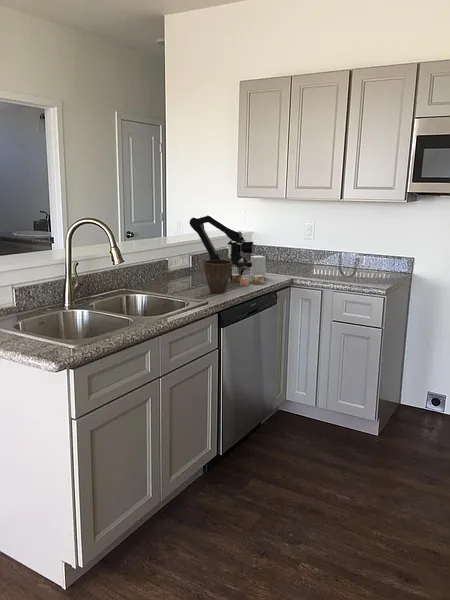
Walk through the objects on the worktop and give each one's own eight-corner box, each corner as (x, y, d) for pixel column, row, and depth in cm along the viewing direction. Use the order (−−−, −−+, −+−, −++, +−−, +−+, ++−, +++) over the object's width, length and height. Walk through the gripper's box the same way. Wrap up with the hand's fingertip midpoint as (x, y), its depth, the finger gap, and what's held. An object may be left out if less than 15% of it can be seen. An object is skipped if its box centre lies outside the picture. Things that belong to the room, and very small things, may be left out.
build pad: (253, 285, 284) (253, 284, 284) (247, 282, 292) (247, 281, 292) (268, 284, 287) (268, 283, 287) (261, 281, 296) (261, 280, 296)
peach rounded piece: (242, 286, 280) (242, 279, 279) (238, 285, 284) (238, 278, 283) (250, 286, 281) (250, 279, 280) (246, 284, 286) (246, 277, 285)
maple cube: (255, 283, 287) (255, 276, 286) (251, 282, 291) (251, 275, 290) (263, 283, 288) (263, 276, 288) (259, 281, 293) (259, 274, 292)
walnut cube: (233, 282, 291) (233, 275, 290) (229, 280, 296) (229, 274, 295) (241, 281, 293) (241, 274, 292) (237, 280, 298) (237, 273, 297)
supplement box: (265, 277, 306) (266, 257, 303) (254, 278, 304) (254, 257, 301) (261, 275, 313) (261, 255, 310) (249, 276, 310) (250, 255, 308)
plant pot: (212, 288, 275) (212, 258, 272) (236, 290, 269) (237, 261, 265) (198, 293, 262) (198, 262, 259) (223, 296, 256) (223, 264, 252)
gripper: (225, 255, 280) (225, 283, 284) (256, 253, 287) (255, 281, 290) (218, 252, 290) (218, 279, 294) (248, 251, 297) (248, 277, 300)
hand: (235, 279), depth 294 cm, fingers closed on walnut cube, 5 cm apart
